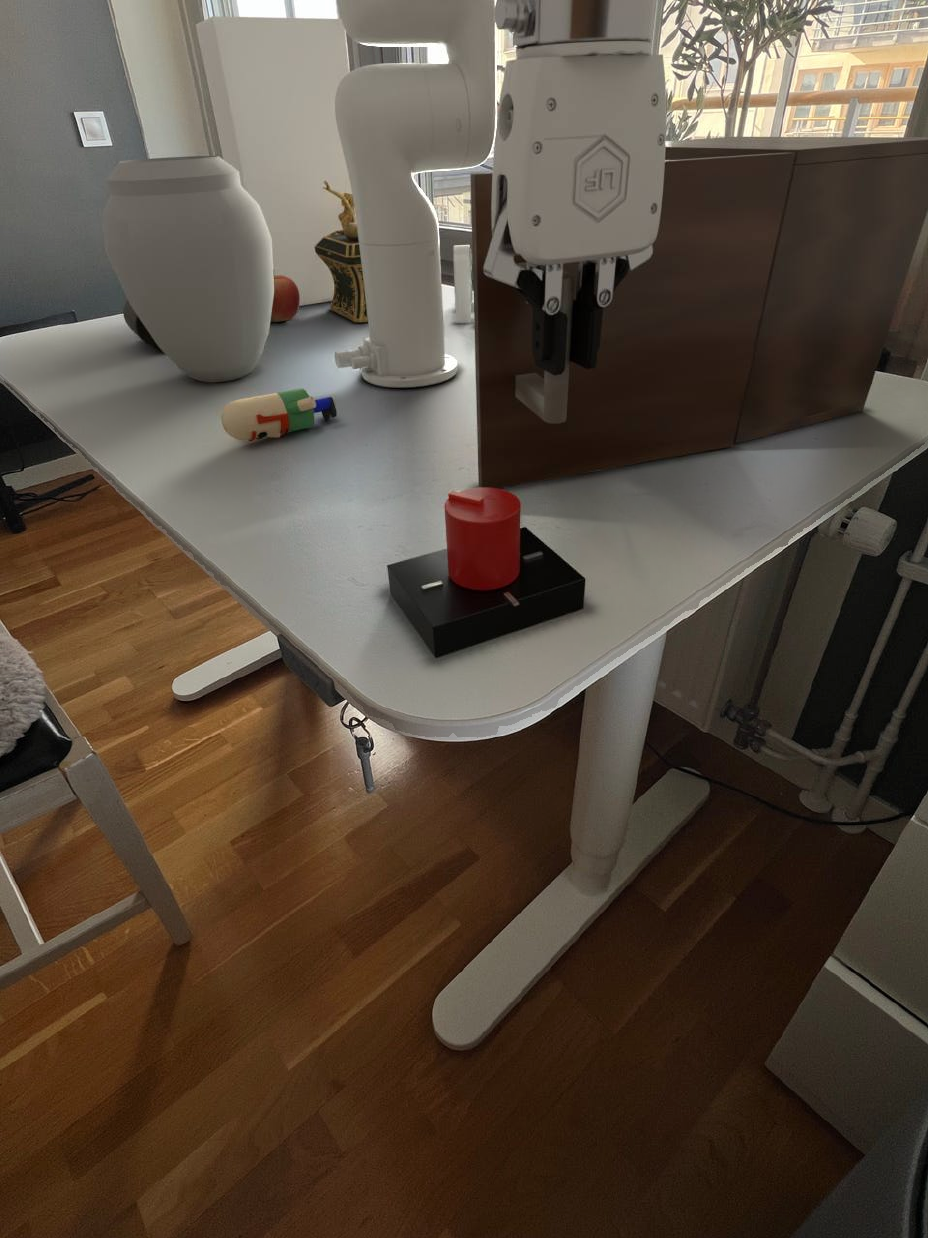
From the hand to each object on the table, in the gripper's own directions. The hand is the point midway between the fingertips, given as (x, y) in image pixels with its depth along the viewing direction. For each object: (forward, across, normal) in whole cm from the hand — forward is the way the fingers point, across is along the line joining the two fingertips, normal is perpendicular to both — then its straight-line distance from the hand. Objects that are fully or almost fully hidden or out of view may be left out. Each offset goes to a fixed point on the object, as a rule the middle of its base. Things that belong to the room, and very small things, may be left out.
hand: (564, 364), depth 48 cm
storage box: (+14, +4, +98) cm, 100 cm away
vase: (+13, -19, +57) cm, 61 cm away
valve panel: (+12, -10, -8) cm, 18 cm away
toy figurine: (+13, -16, +31) cm, 37 cm away
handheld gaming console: (+14, +23, +71) cm, 76 cm away
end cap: (+14, -26, +78) cm, 83 cm away
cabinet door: (+12, +9, +3) cm, 16 cm away
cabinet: (+13, +32, +18) cm, 39 cm away
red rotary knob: (+10, -10, -8) cm, 16 cm away
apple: (+14, -6, +83) cm, 85 cm away
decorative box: (+14, +8, +79) cm, 80 cm away
